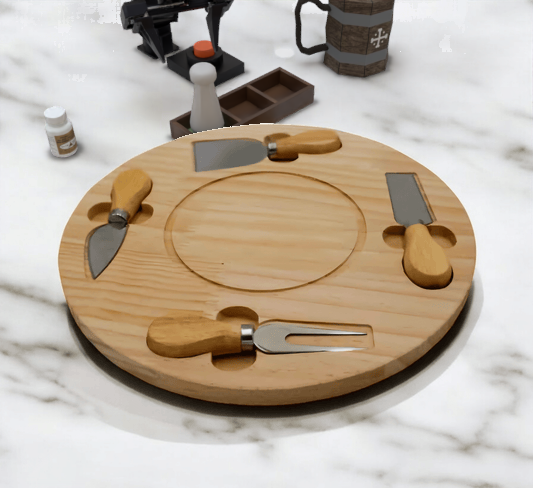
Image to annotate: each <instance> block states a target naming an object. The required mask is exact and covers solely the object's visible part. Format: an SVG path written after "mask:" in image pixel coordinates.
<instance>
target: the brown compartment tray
mask: <svg viewBox="0 0 533 488" xmlns="http://www.w3.org/2000/svg"><path fill="white" fill-rule="evenodd" d="M315 87H316V86H315V85H314V84H312V83H310V82H308V81H306V80H305V79H303V78H301V77H299V76H297V75H296V74H294V73H292V72H290V71H289V70H287V69H285V68H283V67H281V66H278V67H275V68H273V69H272V70H270V71H268V72H266V73H264V74H262V75H260V76H258V77H256V78H254V79H252V80H250V81H248V82H246V83H244V84H242V85H240V86H237V87H235V88H233V89H231V90H230V91H227V92H226V93H225V92H224V93H223V94H222V95H219V96H217V97H218V101H219V105H220V109H221V112H222V116H223V120H224V126H223V127H230V126H231V127H232V126H240V125H249V124H260V123H275V124H277V123H278V122H280V121H282V120H284V119H286V118H288V117H289V116H291V115H293V114H295V113H296V112H299V111H300V110H302V109H304V108H306V107H307V106H309V105H311V104H313V103H314V102H315ZM190 117H191V110H188V111H187V112H184V113H183V114H180V115H179V116H176V117H174V118H172V119H170V120H169V128H170V138H171V139H173V140H174V139H177V138H179V137H182V136H185V135H189V134H193V133H194V132H193V131H192V129H191V126H190Z"/></svg>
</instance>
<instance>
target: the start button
mask: <svg viewBox="0 0 533 488" xmlns="http://www.w3.org/2000/svg"><path fill="white" fill-rule="evenodd" d="M193 45H194V46H193ZM193 45H192V46H193V47H194V55H195V56H196V57H201V58H206V57H211V56H213V55H214V54H215V52H214V49H213V47H212V43H211V40H206V39H202V40H197V41H195V42H194V44H193Z"/></svg>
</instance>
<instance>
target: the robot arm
mask: <svg viewBox="0 0 533 488" xmlns="http://www.w3.org/2000/svg"><path fill="white" fill-rule="evenodd" d="M234 1H235V0H130V1H129V0H128V1H124V2H123V3H122V5H121V7H120V14H119V17H120V23H121V27H122V29H123V31H131V34H134V35H135V34H138V35H139V36H140V37H141V39H142V43H141V44H139V45H137V46H136V49H137V51H140V52H141V53H143V54H145V55H146V56H148V57H150V58H151V59H152V60H158V59H159V60H160V61H161V63H162V64H165V63H167V61H166V57H165V56H167V55H168V56H169V55H170V54H173V53H174V52H178V51H179V50H180V46H179V45H177V44H176V43H175V42H174V38H173V32H172V25H171V23H178V22H179V14H180V13H185V12H190V11H191V12H192V11H197V10H202V9H204V11H205V12H206V13H207V14H206V16H205V21H206V27H207V30H208V34H209V39H210V41H211V43H212V47H213V49H214V52H215V53H217V52H218V46H219V39H220V25H221V18H223V16H224V15H225V13H227V12H228V11H229V10H230V8H231V7H232V6H233V3H234Z"/></svg>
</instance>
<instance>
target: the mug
mask: <svg viewBox="0 0 533 488" xmlns="http://www.w3.org/2000/svg"><path fill="white" fill-rule="evenodd" d="M395 1H396V0H327V3H323V2H322V1H321V0H297V2H296V5H295V7H294V20H295V21H294V22H295V24H294V25H295V29H294V30H295V36H294V37H295V46H297V49H298V51H299V52H300V54H304V55H306V56H312V55H315V54H317V53H322V52H324V55H323V60H322V64H324V65H325V66H326V67H327V68H329V69H330V70H331V71H333V72H334V73H335V74H336V75H340V76H348V77H355V78H356V77H357V78H363V79H364V78H367V77H370V76H373V75H376V74H379V73H381V72H385V71H386V68H387V64H388V59H389V44H390V37H391V33H392V28H393V24H394V8H395ZM307 3H311V4H314V5H315V6H316V7H317V8H318V9H319V10H320V11H322V12H327V14H326V21H325V26H324V29H325V32H324V33H325V42H323V43H319V44H315V45H312V46H310V47H306V46H304V45H303V43H302V27H303V25H302V18H301V11H302V8H303V5H305V4H307Z"/></svg>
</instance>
